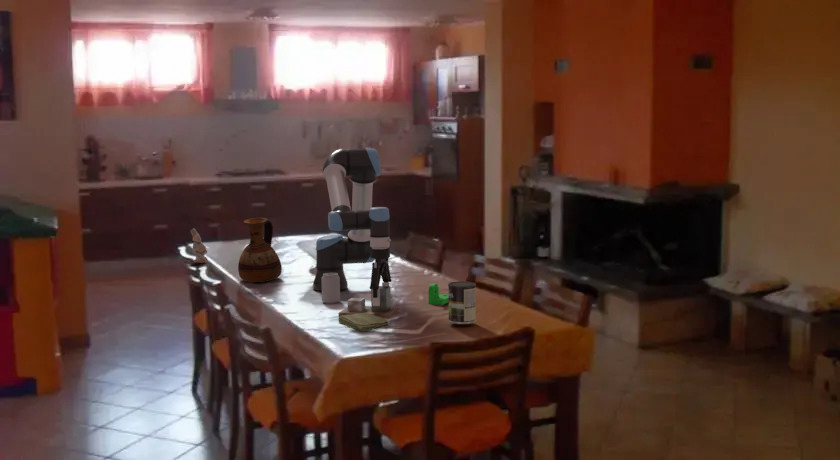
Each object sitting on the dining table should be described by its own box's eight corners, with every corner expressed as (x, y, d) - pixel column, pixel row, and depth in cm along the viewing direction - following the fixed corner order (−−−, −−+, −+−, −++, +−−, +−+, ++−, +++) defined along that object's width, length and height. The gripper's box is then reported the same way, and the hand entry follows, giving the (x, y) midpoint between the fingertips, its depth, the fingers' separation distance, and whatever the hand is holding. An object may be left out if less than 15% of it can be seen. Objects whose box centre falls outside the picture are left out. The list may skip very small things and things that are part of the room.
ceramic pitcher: (230, 283, 432) (227, 219, 428) (253, 276, 450) (251, 214, 447) (267, 286, 424) (265, 220, 421) (289, 278, 443) (287, 215, 439)
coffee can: (450, 324, 342) (449, 286, 341) (446, 318, 353) (446, 281, 351) (478, 323, 343) (477, 285, 342) (474, 317, 353) (473, 280, 352)
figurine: (189, 266, 483) (187, 228, 481) (205, 264, 488) (203, 226, 486) (196, 268, 476) (194, 229, 474) (212, 266, 481) (210, 228, 479)
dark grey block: (371, 311, 359) (371, 288, 358) (375, 308, 365) (375, 285, 364) (386, 312, 358) (386, 289, 357) (390, 309, 364) (390, 286, 362)
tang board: (338, 316, 358) (338, 302, 358) (349, 309, 372) (349, 295, 371) (388, 318, 354) (388, 304, 353) (398, 311, 367) (398, 297, 366)
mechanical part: (442, 305, 378) (441, 285, 377) (428, 304, 381) (428, 284, 380) (454, 299, 389) (454, 280, 388) (441, 298, 391) (440, 279, 390)
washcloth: (360, 332, 335) (360, 323, 334) (336, 323, 349) (335, 314, 349) (391, 327, 342) (391, 318, 342) (366, 318, 356) (365, 310, 356)
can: (343, 300, 389) (342, 272, 387) (335, 304, 382) (335, 275, 380) (326, 300, 391) (325, 271, 390) (318, 303, 384) (318, 274, 383)
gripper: (380, 252, 345) (381, 309, 348) (398, 243, 369) (398, 296, 372) (360, 252, 347) (362, 308, 350) (379, 243, 371) (380, 295, 374)
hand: (381, 302), depth 361 cm, fingers open, 13 cm apart
